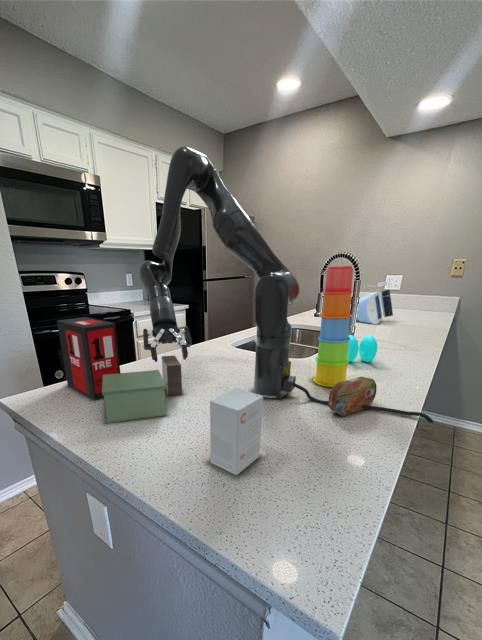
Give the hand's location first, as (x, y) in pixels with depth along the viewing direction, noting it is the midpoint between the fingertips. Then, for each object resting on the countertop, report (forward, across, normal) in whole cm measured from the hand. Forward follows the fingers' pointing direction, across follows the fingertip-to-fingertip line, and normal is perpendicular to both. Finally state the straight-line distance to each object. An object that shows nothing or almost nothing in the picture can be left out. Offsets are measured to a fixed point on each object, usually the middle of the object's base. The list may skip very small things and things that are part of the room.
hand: (170, 359), depth 94 cm
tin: (+26, +41, -14) cm, 51 cm away
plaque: (+7, 0, +6) cm, 9 cm away
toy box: (+15, -12, -2) cm, 19 cm away
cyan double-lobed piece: (+1, +73, +12) cm, 74 cm away
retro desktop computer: (-48, +141, +61) cm, 161 cm away
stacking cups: (+13, +49, 0) cm, 51 cm away
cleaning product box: (+2, -23, +11) cm, 25 cm away
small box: (+35, +5, -22) cm, 42 cm away
